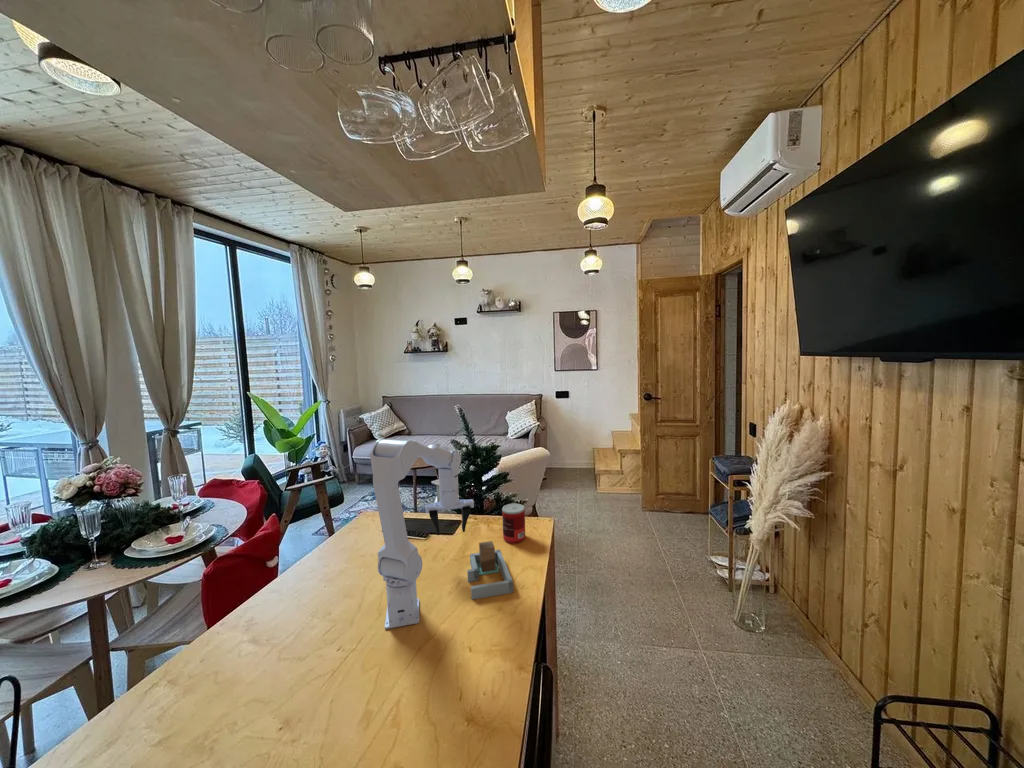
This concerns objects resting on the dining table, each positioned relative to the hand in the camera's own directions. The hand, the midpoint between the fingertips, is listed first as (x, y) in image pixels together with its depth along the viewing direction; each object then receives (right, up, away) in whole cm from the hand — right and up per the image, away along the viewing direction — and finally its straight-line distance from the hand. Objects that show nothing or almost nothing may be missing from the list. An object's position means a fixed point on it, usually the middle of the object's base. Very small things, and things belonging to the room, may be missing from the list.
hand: (451, 532), depth 123 cm
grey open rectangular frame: (+13, -10, -8) cm, 18 cm away
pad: (+11, -10, -3) cm, 15 cm away
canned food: (+20, -8, +15) cm, 26 cm away
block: (+11, -10, -3) cm, 15 cm away
